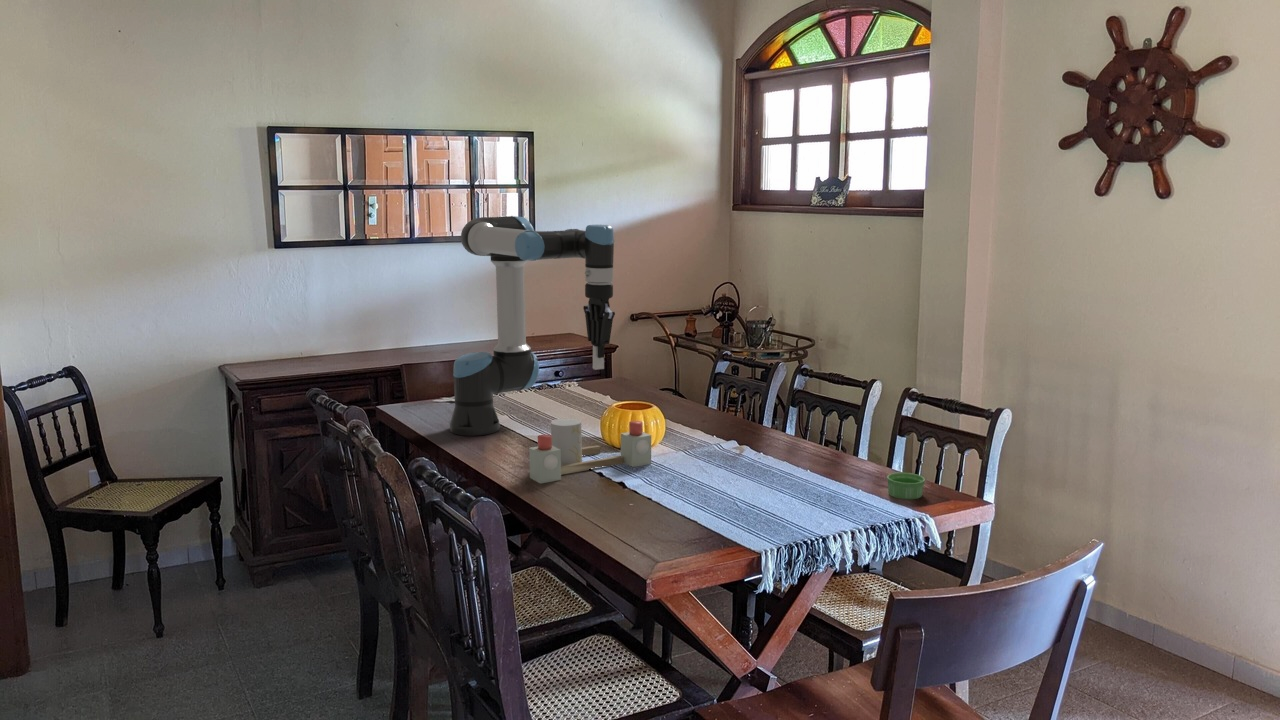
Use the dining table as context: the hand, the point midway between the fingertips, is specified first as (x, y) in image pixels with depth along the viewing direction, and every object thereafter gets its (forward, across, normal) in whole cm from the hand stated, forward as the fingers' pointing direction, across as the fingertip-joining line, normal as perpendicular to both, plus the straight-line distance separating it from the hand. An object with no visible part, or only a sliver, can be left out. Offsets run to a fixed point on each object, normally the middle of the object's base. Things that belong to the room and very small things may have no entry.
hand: (598, 368), depth 274 cm
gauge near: (+16, +11, -22) cm, 29 cm away
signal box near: (+25, +11, -22) cm, 35 cm away
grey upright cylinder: (+25, +3, -11) cm, 28 cm away
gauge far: (+16, +11, +5) cm, 20 cm away
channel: (+25, +3, -7) cm, 26 cm away
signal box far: (+25, +11, +6) cm, 28 cm away
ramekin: (+23, +70, +46) cm, 87 cm away
